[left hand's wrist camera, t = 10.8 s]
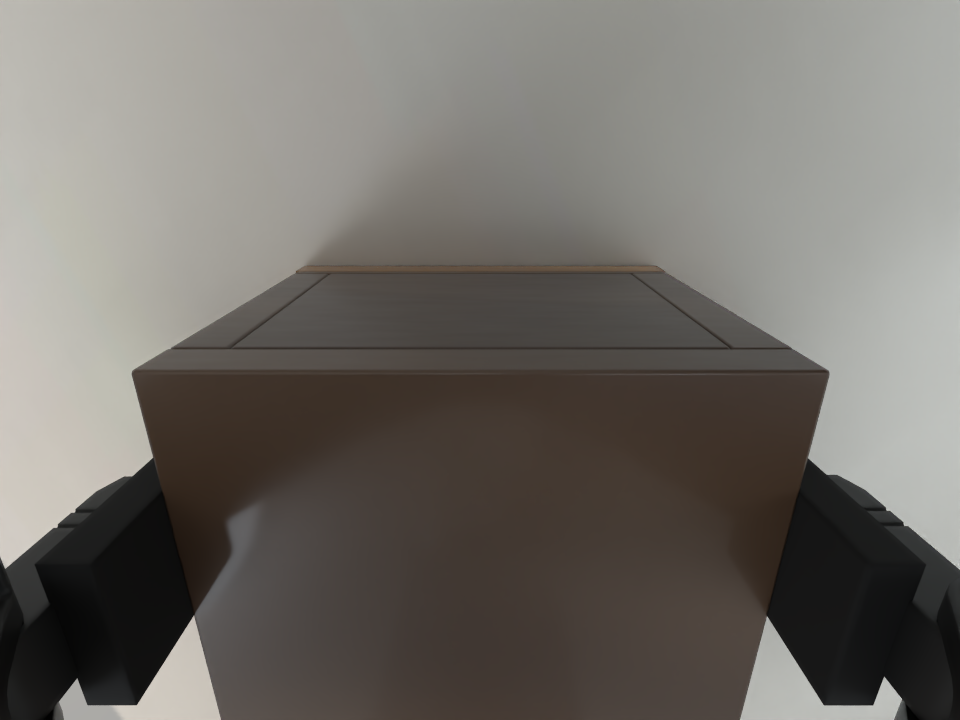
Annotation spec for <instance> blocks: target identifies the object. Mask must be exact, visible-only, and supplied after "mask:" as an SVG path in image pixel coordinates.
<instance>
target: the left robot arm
mask: <svg viewBox="0 0 960 720" xmlns="http://www.w3.org/2000/svg"><path fill="white" fill-rule="evenodd" d="M193 616H194V613H193V609H192V605H191V601H190V597H189V593H188V589H187V586H186V582H185V578H184V574H183V570H182V566H181V562H180V559H179V555H178V551H177V547H176V543H175V539H174V535H173V531H172V528H171V524H170V520H169V516H168V512H167V508H166V504H165V501H164V497H163V493H162V489H161V485H160V481H159V477H158V474H157V470H156V466H155V462H154V458H153V459H151V460H150V461H149V462H148V463H147V464H146V465H145V466H144V467H143V468H141V469H140V470H139V471H138V472H137V473H136V474H135V475H134V476H132V477H123V478H121V479H119V480H117V481H115V482H113V483H112V484H110V485H108V486H106V487H104V488H102V489H100V490H99V491H97V492H95V493H94V494H93V495H92V496H91V497H89V498H88V499H87V500H86V501H85V502H84V503H82V504H81V505H80V506H79V507H78V508H77V509H76V511H75V513H71V514H70V515H68V516H67V517H66V518H65V519H64V520H62V521H61V522H60V523H59V524H58V528H53V529H52V530H51V531H50V532H48V533H47V534H46V535H45V536H44V537H42V538H41V539H40V540H39V541H38V542H37V543H35V544H34V545H33V546H32V547H31V548H30V549H28V550H27V551H26V552H25V553H24V554H23V555H21V556H20V557H19V558H18V559H17V560H15V561H14V562H13V563H12V564H11V565H10V566H8V567H7V568H6V569H5V568H4V566H3V563H2V561H1V558H0V720H64V718H63V712H62V709H61V706H60V704H59V701H60V699H61V698H62V697H63V695H64V694H65V693H66V692H67V690H68V689H69V688H70V687H71V685H72V684H73V683H74V682H75V680H76V679H77V678H78V681H79V684H80V686H81V689H82V692H83V694H84V697H85V700H86V702H87V705H137V704H138V702H139V701H140V699H141V698H142V696H143V694H144V693H145V691H146V690H147V688H148V687H149V685H150V683H151V682H152V680H153V679H154V677H155V676H156V674H157V672H158V671H159V669H160V668H161V666H162V665H163V663H164V661H165V660H166V658H167V657H168V655H169V654H170V652H171V650H172V649H173V647H174V646H175V644H176V643H177V641H178V639H179V638H180V636H181V635H182V633H183V632H184V630H185V628H186V627H187V625H188V624H189V622H190V621H191V619H192V617H193ZM767 616H768V618H769V620H770V621H771V623H772V624H773V626H774V627H775V629H776V631H777V632H778V634H779V635H780V637H781V638H782V640H783V642H784V643H785V645H786V646H787V648H788V649H789V651H790V653H791V654H792V656H793V657H794V659H795V660H796V662H797V664H798V665H799V667H800V668H801V670H802V671H803V673H804V675H805V676H806V678H807V679H808V681H809V682H810V684H811V686H812V687H813V689H814V690H815V692H816V693H817V695H818V697H819V698H820V700H821V701H822V703H823V704H824V705H873V704H874V702H875V699H876V696H877V694H878V691H879V688H880V686H881V683H882V681H883V678H884V677H885V678H886V679H887V680H888V682H889V683H890V684H891V685H892V687H893V688H894V689H895V690H896V692H897V693H898V694H899V696H900V697H901V698H902V701H901V704H900V706H899V709H898V711H897V714H896V716H895V719H894V720H960V570H959V569H958V568H957V567H956V566H954V565H953V564H952V563H951V562H950V561H949V560H947V559H946V558H945V557H944V556H943V555H941V554H940V553H939V552H938V551H937V550H935V549H934V548H933V547H932V546H931V545H930V544H928V543H927V542H926V541H925V540H924V539H922V538H921V537H920V536H919V535H918V534H917V533H915V532H914V531H913V530H912V529H911V528H909V527H908V526H904V524H903V522H902V521H901V520H900V519H899V518H898V517H896V516H895V515H894V514H893V513H892V512H890V511H886V507H885V506H883V505H882V504H881V503H880V502H879V501H877V500H876V499H875V498H874V497H873V496H872V495H870V494H869V493H868V492H867V491H866V490H864V489H862V488H860V487H859V486H857V485H855V484H853V483H851V482H849V481H847V480H845V479H844V478H842V477H840V476H838V475H826V474H825V473H824V472H823V471H822V470H820V469H819V468H818V467H817V466H816V465H815V464H814V463H813V462H811V461H810V460H809V459H807V463H806V467H805V471H804V475H803V479H802V482H801V486H800V490H799V494H798V498H797V502H796V505H795V509H794V513H793V517H792V521H791V525H790V529H789V532H788V536H787V540H786V544H785V548H784V552H783V556H782V559H781V563H780V567H779V571H778V575H777V579H776V582H775V586H774V590H773V594H772V598H771V602H770V606H769V609H768V613H767Z"/></svg>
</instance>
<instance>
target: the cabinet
mask: <svg viewBox="0 0 960 720" xmlns="http://www.w3.org/2000/svg"><path fill="white" fill-rule="evenodd" d="M132 377H133V381H134V385H135V389H136V392H137V396H138V400H139V404H140V408H141V412H142V416H143V420H144V423H145V427H146V431H147V435H148V439H149V443H150V447H151V450H152V454H153V458H154V462H155V466H156V470H157V474H158V477H159V481H160V485H161V489H162V493H163V497H164V501H165V504H166V508H167V512H168V516H169V520H170V524H171V528H172V531H173V535H174V539H175V543H176V547H177V551H178V555H179V559H180V562H181V566H182V570H183V574H184V578H185V582H186V586H187V589H188V593H189V597H190V601H191V605H192V609H193V613H194V616H195V620H196V624H197V628H198V632H199V636H200V640H201V643H202V647H203V651H204V655H205V659H206V663H207V667H208V670H209V674H210V678H211V682H212V686H213V690H214V694H215V697H216V701H217V705H218V709H219V713H220V717H221V720H740V717H741V713H742V710H743V706H744V702H745V698H746V694H747V690H748V686H749V683H750V679H751V675H752V671H753V667H754V663H755V660H756V656H757V652H758V648H759V644H760V640H761V636H762V633H763V629H764V625H765V621H766V617H767V613H768V609H769V606H770V602H771V598H772V594H773V590H774V586H775V582H776V579H777V575H778V571H779V567H780V563H781V559H782V556H783V552H784V548H785V544H786V540H787V536H788V532H789V529H790V525H791V521H792V517H793V513H794V509H795V505H796V502H797V498H798V494H799V490H800V486H801V482H802V479H803V475H804V471H805V467H806V463H807V459H808V455H809V452H810V448H811V444H812V440H813V436H814V432H815V428H816V425H817V421H818V417H819V413H820V409H821V405H822V402H823V398H824V394H825V390H826V386H827V382H828V378H829V371H828V370H827V369H825V368H823V367H822V366H820V365H818V364H817V363H815V362H813V361H812V360H810V359H808V358H807V357H805V356H803V355H802V354H800V353H798V352H797V351H795V350H792V348H791V347H789V346H787V345H786V344H784V343H782V342H781V341H779V340H777V339H776V338H774V337H772V336H771V335H769V334H767V333H766V332H764V331H762V330H761V329H759V328H757V327H756V326H754V325H752V324H751V323H749V322H747V321H746V320H744V319H742V318H741V317H739V316H737V315H736V314H734V313H732V312H731V311H729V310H727V309H726V308H724V307H722V306H720V305H719V304H717V303H715V302H714V301H712V300H710V299H709V298H707V297H705V296H704V295H702V294H700V293H699V292H697V291H695V290H694V289H692V288H690V287H689V286H687V285H685V284H684V283H682V282H680V281H679V280H677V279H675V278H674V277H672V276H670V275H669V274H667V273H665V271H664V270H662V269H661V268H659V267H657V266H304V267H302V268H301V269H299V270H297V271H296V273H295V274H293V275H292V276H290V277H288V278H287V279H285V280H283V281H282V282H280V283H278V284H277V285H275V286H273V287H272V288H270V289H268V290H267V291H265V292H263V293H262V294H260V295H258V296H257V297H255V298H253V299H252V300H250V301H248V302H247V303H245V304H243V305H242V306H240V307H238V308H237V309H235V310H233V311H232V312H230V313H228V314H227V315H225V316H223V317H222V318H220V319H218V320H217V321H215V322H214V323H212V324H210V325H209V326H207V327H205V328H204V329H202V330H200V331H199V332H197V333H195V334H194V335H192V336H190V337H189V338H187V339H185V340H184V341H182V342H180V343H179V344H177V345H175V346H174V347H172V348H171V349H168V350H166V351H164V352H163V353H161V354H159V355H158V356H156V357H154V358H153V359H151V360H149V361H148V362H146V363H144V364H143V365H141V366H139V367H138V368H136V369H134V370H133V371H132Z"/></svg>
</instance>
